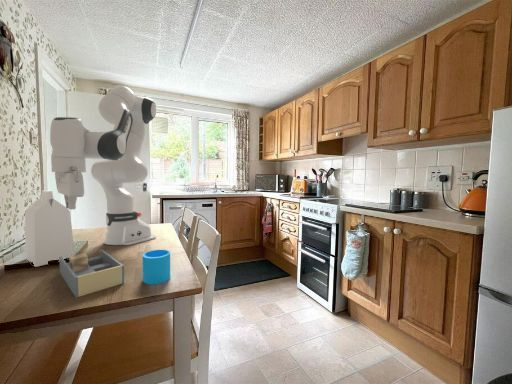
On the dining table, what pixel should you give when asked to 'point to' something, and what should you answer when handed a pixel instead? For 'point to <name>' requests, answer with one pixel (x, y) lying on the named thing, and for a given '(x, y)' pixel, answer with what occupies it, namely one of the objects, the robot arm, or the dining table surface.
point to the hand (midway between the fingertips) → (70, 208)
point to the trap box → (93, 274)
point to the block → (78, 262)
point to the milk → (47, 230)
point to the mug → (156, 266)
